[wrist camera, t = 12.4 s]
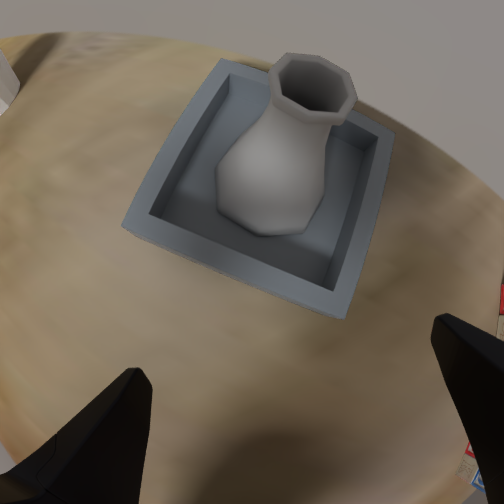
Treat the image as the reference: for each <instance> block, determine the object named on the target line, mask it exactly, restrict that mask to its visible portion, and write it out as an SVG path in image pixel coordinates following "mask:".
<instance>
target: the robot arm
mask: <svg viewBox="0 0 504 504" xmlns="http://www.w3.org/2000/svg"><path fill="white" fill-rule="evenodd" d="M431 344H432V346H433V349H434V352H435V355H436V357H437V360H438V363H439V366H440V369H441V372H442V375H443V378H444V380H445V383H446V386H447V388H448V390H449V393H450V395H451V397H452V399H453V402H454V404H455V406H456V409H457V411H458V413H459V416H460V418H461V421H462V423H463V426H464V428H465V431H466V434H467V436H468V439H469V442H470V445H471V447H472V450H473V453H474V456H475V459H476V462H477V465H478V468H479V471H480V475H481V478H482V482H483V485H484V489H485V493H486V497H487V500H488V504H504V341H502V340H501V339H499V338H497V337H495V336H493V335H491V334H489V333H487V332H485V331H483V330H481V329H479V328H477V327H475V326H473V325H471V324H469V323H467V322H465V321H463V320H461V319H459V318H457V317H455V316H453V315H451V314H448V313H444V314H441V315H438V316H436V317H435V319H434V323H433V328H432V333H431ZM152 392H153V390H152V385H151V383H150V381H149V380H148V378H147V377H146V375H145V374H144V372H143V371H142V369H140V368H138V367H136V368H127V369H126V370H125V371H124V372H123V373H122V374H121V375H120V376H118V377H117V378H116V379H115V380H114V381H113V382H112V383H111V384H110V385H109V386H108V387H106V388H105V389H104V390H103V391H102V392H101V393H100V394H99V395H98V396H97V397H95V398H94V399H93V400H92V401H91V402H90V403H89V404H88V405H87V406H86V407H84V408H83V409H82V410H81V411H80V412H79V413H78V414H77V415H76V416H75V417H73V418H72V419H71V420H70V421H69V422H68V423H67V424H66V425H65V426H63V427H62V428H61V429H60V430H59V431H58V432H57V434H55V435H54V436H52V437H51V438H50V439H49V440H48V441H47V442H46V443H45V444H43V445H42V446H41V447H40V448H39V449H37V450H36V451H35V452H34V453H32V454H31V455H30V456H28V457H27V458H26V459H24V460H23V461H22V462H20V463H19V464H18V465H16V466H15V467H13V468H12V469H11V470H9V471H8V472H6V473H4V474H1V475H0V504H139V496H140V488H141V481H142V474H143V467H144V461H145V455H146V449H147V443H148V437H149V430H150V417H151V404H152Z"/></svg>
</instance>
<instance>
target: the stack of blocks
mask: <svg viewBox="0 0 504 504" xmlns="http://www.w3.org/2000/svg"><path fill="white" fill-rule="evenodd" d="M496 337H497V338H499V339H501V340H502V341H504V284H502V286H501V304H500V315H499V319H498V328H497V335H496ZM455 475H457V476H458V477H460V478H461V479H463V480H464V481H466V482H467V483H469V484H471V485H473V486H474V487H476V488H477V489H479V490H481V491H482V492H484V493H485V489H484V485H483V482H482V478H481V475H480V471H479V468H478V465H477V462H476V459H475V456H474V453H473V450H472V447H471V445H470V442H469V444H468V446H467V449H466V451H465V454H464V456H463V458H462V460H461V463H460V465H459V467H458V469H457V472H456V474H455ZM485 494H486V493H485Z"/></svg>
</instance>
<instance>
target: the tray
mask: <svg viewBox="0 0 504 504" xmlns="http://www.w3.org/2000/svg"><path fill="white" fill-rule="evenodd" d="M270 97H271V92H270V86H269V80H268V73H267V72H264V71H261V70H258V69H256V68H252V67H249V66H246V65H243V64H240V63H237V62H233V61H230V60H226V59H223V58H221V59H220V60H219V62H218V63H217V64H216V66H215V67H214V68H213V70H212V71H211V73H210V74H209V75H208V77H207V78H206V79H205V81H204V82H203V84H202V85H201V86H200V88H199V89H198V91H197V92H196V94H195V95H194V97H193V98H192V100H191V101H190V103H189V104H188V106H187V107H186V109H185V110H184V112H183V113H182V115H181V116H180V118H179V119H178V121H177V123H176V124H175V126H174V127H173V129H172V131H171V132H170V134H169V136H168V137H167V139H166V141H165V142H164V144H163V146H162V147H161V149H160V151H159V153H158V154H157V156H156V158H155V160H154V161H153V163H152V165H151V167H150V169H149V170H148V172H147V174H146V176H145V178H144V180H143V182H142V184H141V185H140V187H139V189H138V191H137V193H136V195H135V197H134V199H133V201H132V203H131V205H130V207H129V209H128V211H127V213H126V216H125V218H124V220H123V222H122V224H121V227H123V228H124V229H126V230H127V231H129V232H130V233H132V234H133V235H135V236H137V237H139V238H141V239H143V240H145V241H148V242H150V243H152V244H154V245H157V246H159V247H161V248H163V249H166V250H168V251H170V252H172V253H175V254H177V255H179V256H181V257H184V258H186V259H188V260H191V261H193V262H195V263H198V264H200V265H202V266H205V267H207V268H209V269H212V270H214V271H216V272H219V273H221V274H223V275H226V276H228V277H230V278H233V279H235V280H238V281H240V282H242V283H245V284H247V285H250V286H252V287H255V288H257V289H259V290H262V291H264V292H267V293H269V294H272V295H274V296H277V297H279V298H282V299H284V300H287V301H289V302H292V303H294V304H297V305H299V306H302V307H304V308H307V309H309V310H312V311H315V312H317V313H320V314H322V315H325V316H329V317H333V318H338V319H343V320H344V319H345V316H346V314H347V311H348V308H349V306H350V303H351V300H352V297H353V294H354V291H355V288H356V285H357V282H358V279H359V276H360V273H361V270H362V267H363V264H364V261H365V257H366V254H367V251H368V248H369V244H370V241H371V237H372V234H373V230H374V226H375V223H376V219H377V215H378V211H379V207H380V204H381V199H382V195H383V191H384V187H385V182H386V178H387V173H388V169H389V164H390V159H391V154H392V149H393V143H394V138H395V132H393V131H391V130H389V129H388V128H386V127H384V126H383V125H381V124H379V123H377V122H376V121H374V120H372V119H370V118H368V117H366V116H365V115H363V114H361V113H359V112H357V111H355V110H353V109H351V111H350V113H349V114H348V116H347V118H346V119H345V121H344V123H343V124H341V125H340V126H337V125H332V126H331V129H330V133H329V136H328V139H327V142H326V145H325V166H324V186H325V193H324V199H323V201H322V202H321V204H320V206H319V208H318V209H317V211H316V213H315V214H314V216H313V218H312V220H311V221H310V223H309V225H308V227H307V228H306V230H305V232H304V233H303V234H288V235H272V236H256V235H254V234H253V233H251V232H249V231H248V230H246V229H245V228H243V227H242V226H240V225H238V224H237V223H235V222H234V221H232V220H230V219H229V218H227V217H226V216H224V215H222V214H221V213H219V212H218V211H217V202H216V184H215V167H216V166H217V164H218V163H219V162H220V160H221V159H222V158H223V156H224V155H225V154H226V152H227V151H228V150H229V149H230V147H231V146H232V145H233V143H234V142H235V141H236V140H237V138H238V137H239V136H240V135H241V134H242V133H243V132H244V131H245V130H247V129H248V128H249V127H250V126H252V125H253V124H254V123H255V122H256V121H257V120H258V119H259V118H260V117H261V116H262V114H263V113H264V111H265V110H266V108H267V106H268V104H269V101H270Z"/></svg>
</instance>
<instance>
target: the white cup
mask: <svg viewBox="0 0 504 504" xmlns="http://www.w3.org/2000/svg"><path fill="white" fill-rule="evenodd" d="M19 87H20V82H19V80H18V78H17V76H16V75H15V73H14V71H13V70H12V68H11V66H10V65H9V63H8V61H7V60H6V58H5V56H4V54H3V52H2V51H1V49H0V115H2V114H3V113H4V112H5V110H6V109H7V108H8V107H9V106H10V105H11V103H12V102H13V100H14V99H15V97H16V95H17V93H18V91H19Z"/></svg>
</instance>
